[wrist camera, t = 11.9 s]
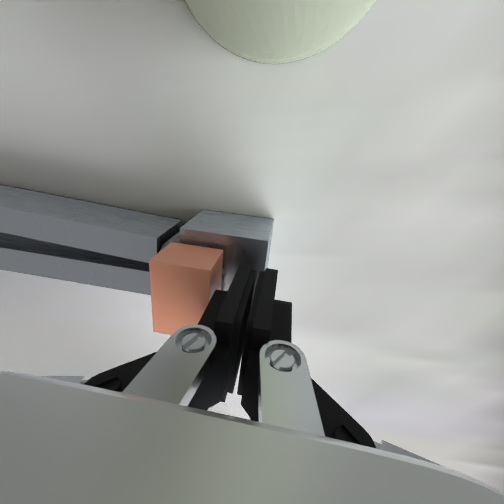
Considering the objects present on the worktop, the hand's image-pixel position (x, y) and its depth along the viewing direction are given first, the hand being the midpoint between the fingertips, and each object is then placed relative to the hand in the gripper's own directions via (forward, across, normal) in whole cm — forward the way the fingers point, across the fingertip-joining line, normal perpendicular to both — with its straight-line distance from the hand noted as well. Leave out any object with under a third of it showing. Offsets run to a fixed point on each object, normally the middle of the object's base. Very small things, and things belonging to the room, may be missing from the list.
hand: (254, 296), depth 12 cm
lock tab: (+1, +3, 0) cm, 3 cm away
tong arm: (+4, +14, -1) cm, 15 cm away
